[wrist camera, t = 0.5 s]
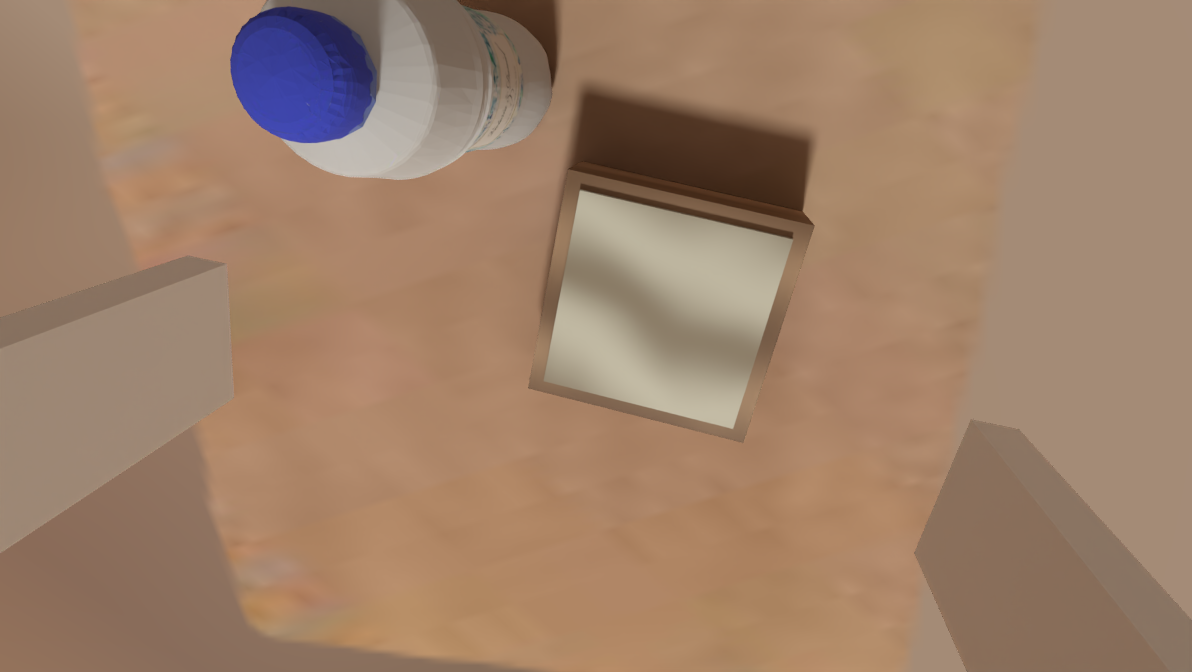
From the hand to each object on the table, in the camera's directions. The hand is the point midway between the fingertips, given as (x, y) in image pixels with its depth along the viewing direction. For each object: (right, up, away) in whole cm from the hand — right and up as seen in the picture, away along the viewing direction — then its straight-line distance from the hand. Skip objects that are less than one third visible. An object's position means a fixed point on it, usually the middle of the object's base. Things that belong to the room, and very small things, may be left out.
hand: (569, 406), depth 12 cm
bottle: (-5, +15, +23) cm, 28 cm away
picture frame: (+4, +4, +26) cm, 26 cm away
